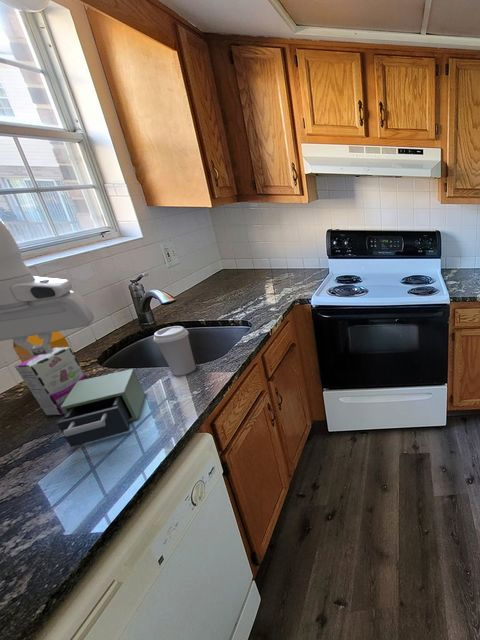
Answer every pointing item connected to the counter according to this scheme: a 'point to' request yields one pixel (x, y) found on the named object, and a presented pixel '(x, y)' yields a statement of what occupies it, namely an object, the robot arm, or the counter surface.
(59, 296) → the robot arm
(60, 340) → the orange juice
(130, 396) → the drawer cabinet
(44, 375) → the candy bar box
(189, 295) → the counter surface
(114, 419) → the drawer with bar handle
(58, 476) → the counter surface
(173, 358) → the coffee cup
